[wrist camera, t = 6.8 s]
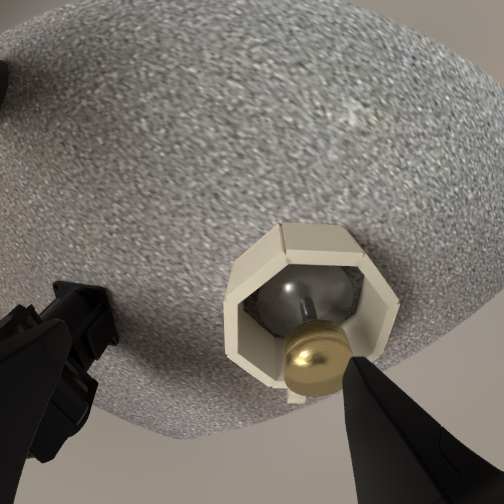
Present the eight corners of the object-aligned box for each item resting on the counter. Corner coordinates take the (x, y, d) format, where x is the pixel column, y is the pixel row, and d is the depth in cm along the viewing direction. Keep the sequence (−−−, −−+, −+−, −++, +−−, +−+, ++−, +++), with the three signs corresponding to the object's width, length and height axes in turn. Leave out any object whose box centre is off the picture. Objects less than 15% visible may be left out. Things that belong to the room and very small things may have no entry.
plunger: (256, 332, 22) (251, 411, 14) (259, 251, 19) (255, 320, 12) (341, 334, 21) (363, 408, 14) (358, 255, 19) (402, 320, 12)
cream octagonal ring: (234, 363, 24) (227, 405, 20) (233, 219, 19) (222, 246, 14) (348, 364, 24) (359, 404, 19) (383, 228, 19) (413, 255, 14)
